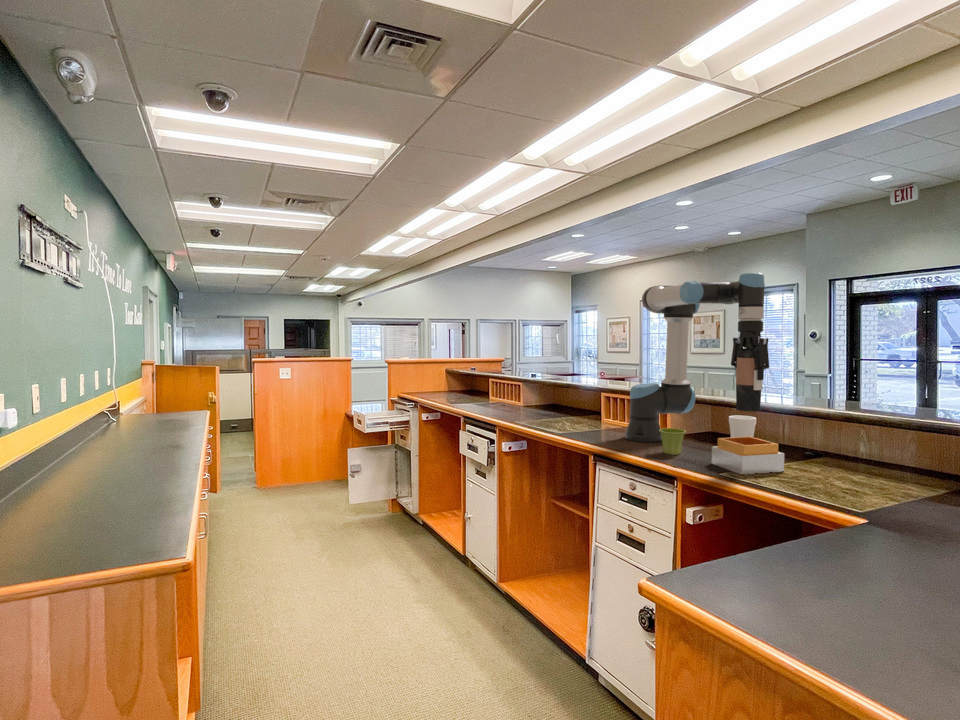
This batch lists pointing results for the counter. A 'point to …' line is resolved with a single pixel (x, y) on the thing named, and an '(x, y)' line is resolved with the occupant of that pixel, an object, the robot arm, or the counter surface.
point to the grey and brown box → (747, 455)
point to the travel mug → (746, 382)
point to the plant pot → (672, 440)
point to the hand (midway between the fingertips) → (748, 388)
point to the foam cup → (742, 426)
